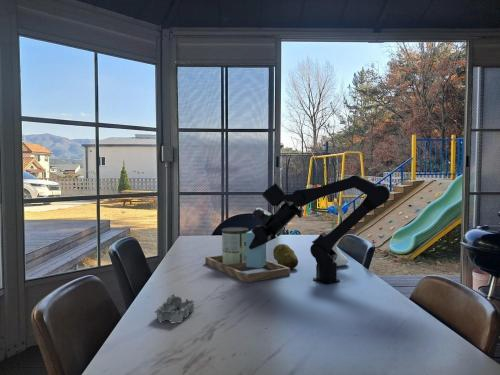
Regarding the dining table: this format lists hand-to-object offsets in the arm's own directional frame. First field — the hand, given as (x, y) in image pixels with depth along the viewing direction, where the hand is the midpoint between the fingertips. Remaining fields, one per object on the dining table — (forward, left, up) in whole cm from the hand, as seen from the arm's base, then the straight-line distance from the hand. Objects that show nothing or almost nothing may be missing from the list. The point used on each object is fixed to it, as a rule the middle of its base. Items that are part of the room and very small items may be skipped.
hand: (252, 246), depth 139 cm
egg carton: (-24, +38, -10) cm, 46 cm away
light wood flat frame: (+6, -1, -9) cm, 12 cm away
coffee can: (+14, -1, -10) cm, 17 cm away
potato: (+2, -16, -10) cm, 19 cm away
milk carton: (-1, -1, -7) cm, 7 cm away
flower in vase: (-6, -34, -10) cm, 36 cm away
